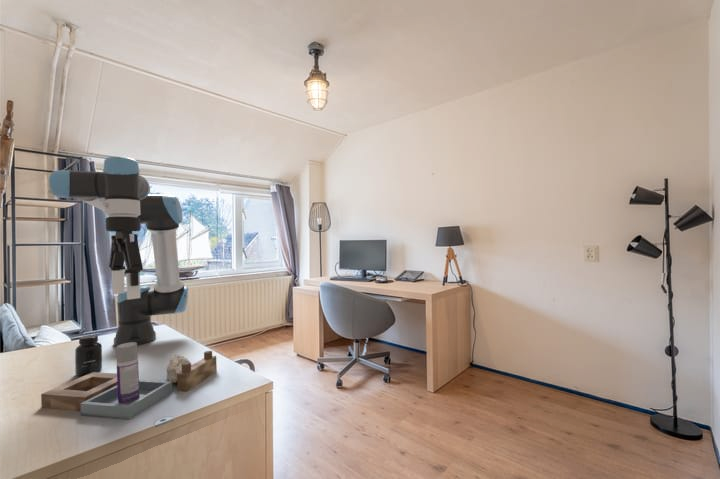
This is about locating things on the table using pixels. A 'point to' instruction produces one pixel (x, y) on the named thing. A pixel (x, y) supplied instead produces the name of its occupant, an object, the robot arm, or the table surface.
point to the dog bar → (196, 372)
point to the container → (127, 373)
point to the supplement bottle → (88, 355)
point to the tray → (110, 408)
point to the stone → (175, 367)
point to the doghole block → (78, 391)
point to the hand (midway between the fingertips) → (125, 296)
